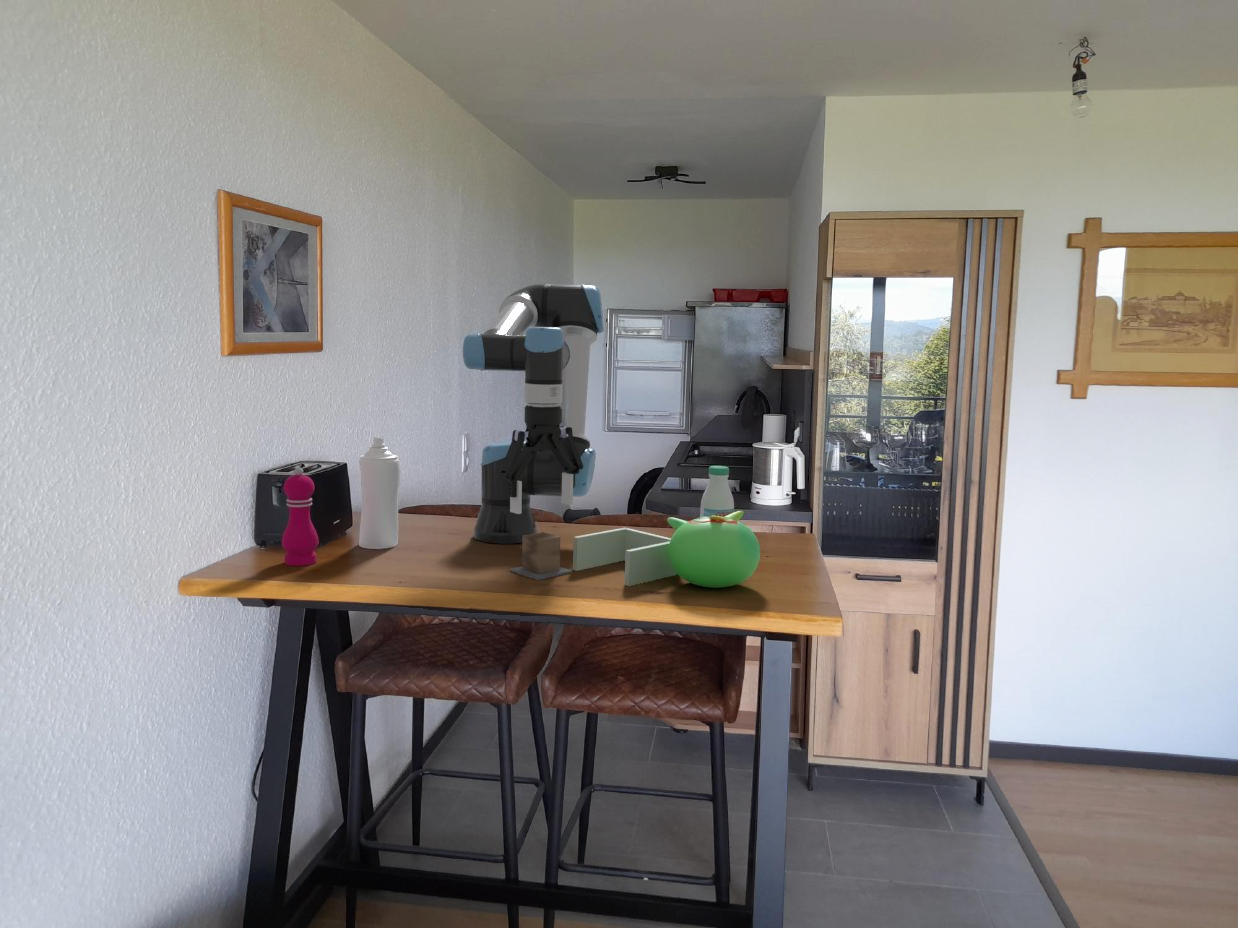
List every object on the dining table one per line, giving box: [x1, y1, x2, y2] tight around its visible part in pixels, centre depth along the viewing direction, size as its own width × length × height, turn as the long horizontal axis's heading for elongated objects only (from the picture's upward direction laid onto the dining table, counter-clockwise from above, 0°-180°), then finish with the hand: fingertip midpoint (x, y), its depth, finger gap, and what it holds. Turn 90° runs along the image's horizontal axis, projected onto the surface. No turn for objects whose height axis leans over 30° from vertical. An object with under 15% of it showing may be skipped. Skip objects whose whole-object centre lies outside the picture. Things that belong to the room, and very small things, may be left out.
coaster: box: [509, 565, 573, 581], centre depth 182 cm, size 9×9×1 cm
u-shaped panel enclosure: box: [572, 527, 678, 587], centre depth 183 cm, size 15×16×7 cm
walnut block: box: [521, 531, 561, 574], centre depth 181 cm, size 6×6×7 cm
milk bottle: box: [699, 465, 735, 517], centre depth 201 cm, size 8×8×20 cm
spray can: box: [358, 437, 401, 550], centre depth 198 cm, size 12×11×25 cm
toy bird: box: [666, 510, 761, 589], centre depth 175 cm, size 18×17×15 cm
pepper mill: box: [281, 467, 320, 567], centre depth 182 cm, size 7×7×20 cm
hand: (542, 508), depth 180 cm, fingers open, 13 cm apart
